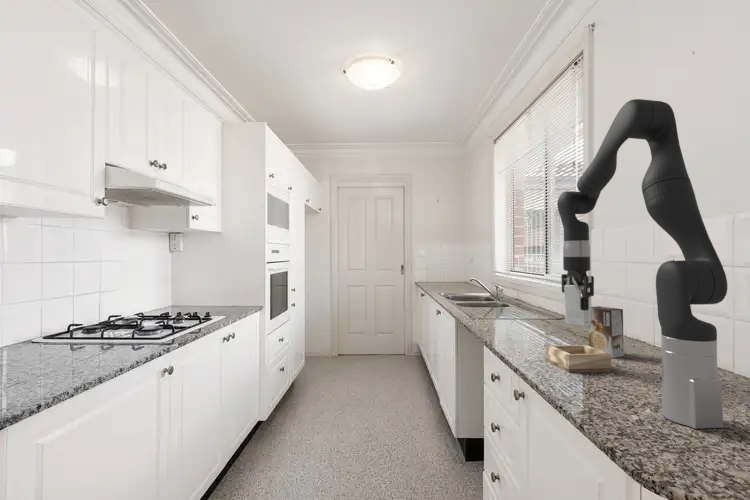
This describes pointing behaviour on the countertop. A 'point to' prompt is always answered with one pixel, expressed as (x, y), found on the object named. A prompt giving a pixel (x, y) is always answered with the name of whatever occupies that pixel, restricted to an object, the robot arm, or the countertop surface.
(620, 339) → the coffee box
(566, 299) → the skincare box
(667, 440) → the countertop surface
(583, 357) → the light wooden tray
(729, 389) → the countertop surface
